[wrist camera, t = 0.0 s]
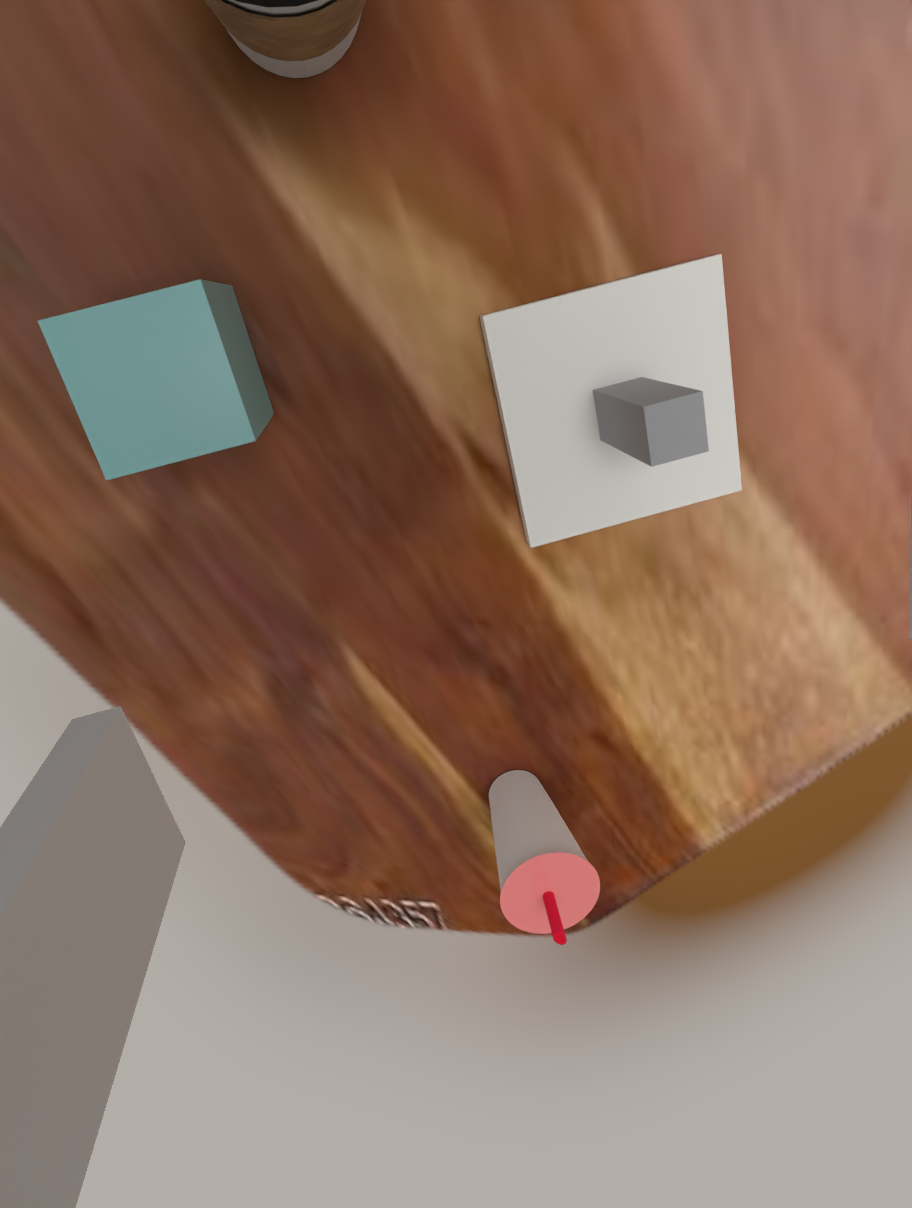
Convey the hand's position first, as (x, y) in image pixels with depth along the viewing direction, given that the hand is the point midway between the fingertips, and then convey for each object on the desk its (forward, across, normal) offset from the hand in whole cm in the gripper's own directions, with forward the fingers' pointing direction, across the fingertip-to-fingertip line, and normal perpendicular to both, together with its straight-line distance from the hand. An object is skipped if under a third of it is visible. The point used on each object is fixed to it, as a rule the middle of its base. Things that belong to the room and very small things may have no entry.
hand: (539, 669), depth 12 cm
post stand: (+28, +11, -2) cm, 30 cm away
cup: (+28, +1, -24) cm, 37 cm away
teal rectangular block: (+28, -9, +5) cm, 30 cm away
